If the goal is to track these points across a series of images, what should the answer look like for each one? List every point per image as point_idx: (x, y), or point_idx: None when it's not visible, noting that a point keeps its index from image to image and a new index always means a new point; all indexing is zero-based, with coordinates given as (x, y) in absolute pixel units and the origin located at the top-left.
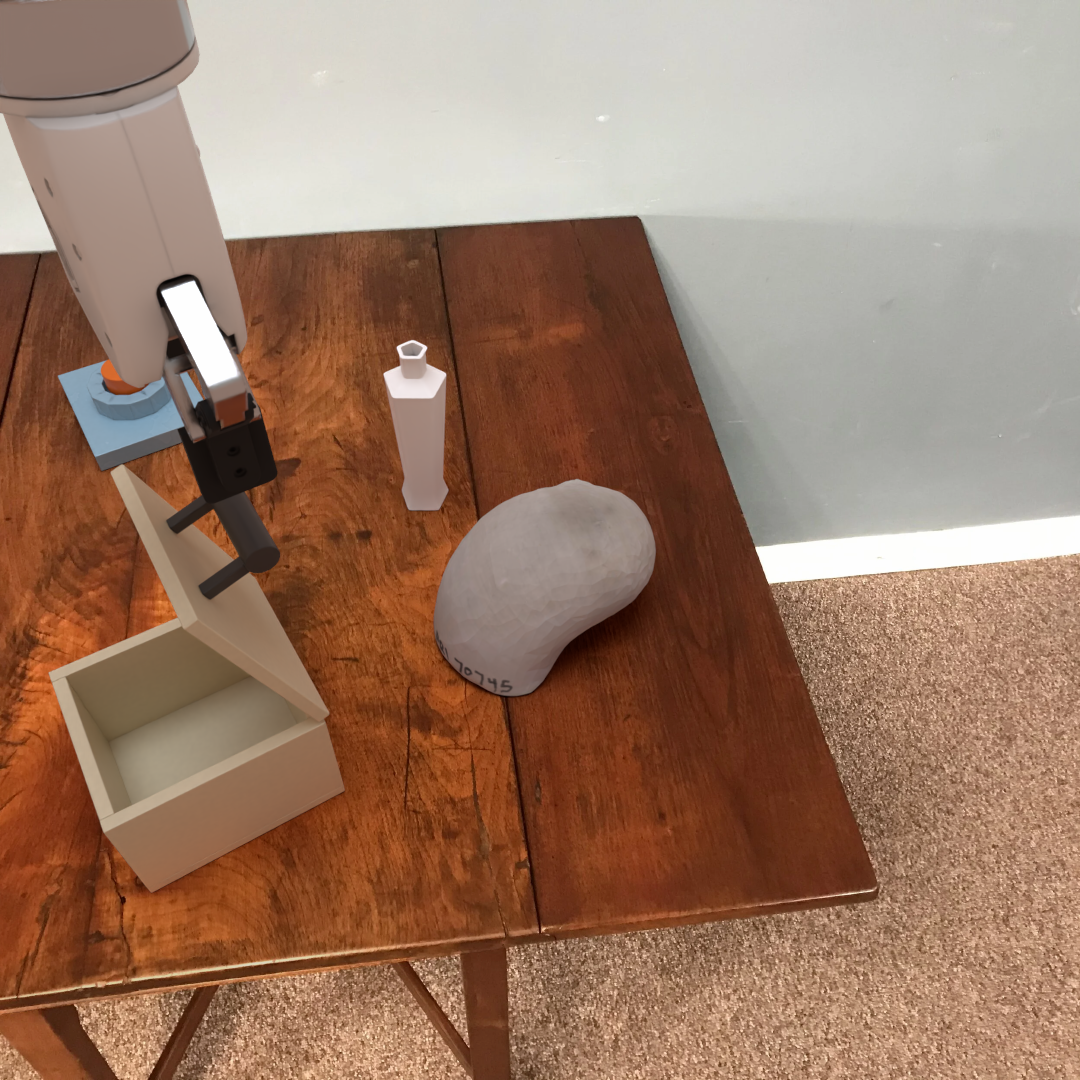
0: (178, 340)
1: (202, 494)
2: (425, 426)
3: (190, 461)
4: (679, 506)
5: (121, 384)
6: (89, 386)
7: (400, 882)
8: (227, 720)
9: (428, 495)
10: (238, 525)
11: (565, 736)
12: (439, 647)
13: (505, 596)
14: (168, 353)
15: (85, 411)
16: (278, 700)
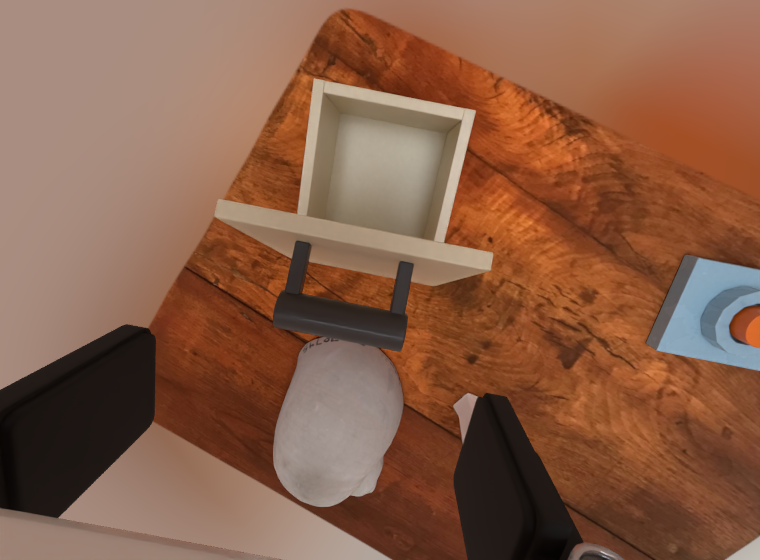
0: (466, 492)
1: (118, 330)
2: None
3: (44, 368)
4: (346, 503)
5: (748, 318)
6: None
7: None
8: (404, 206)
9: (461, 411)
10: (319, 316)
11: (264, 350)
12: None
13: (311, 399)
14: (467, 458)
15: (755, 278)
16: None
